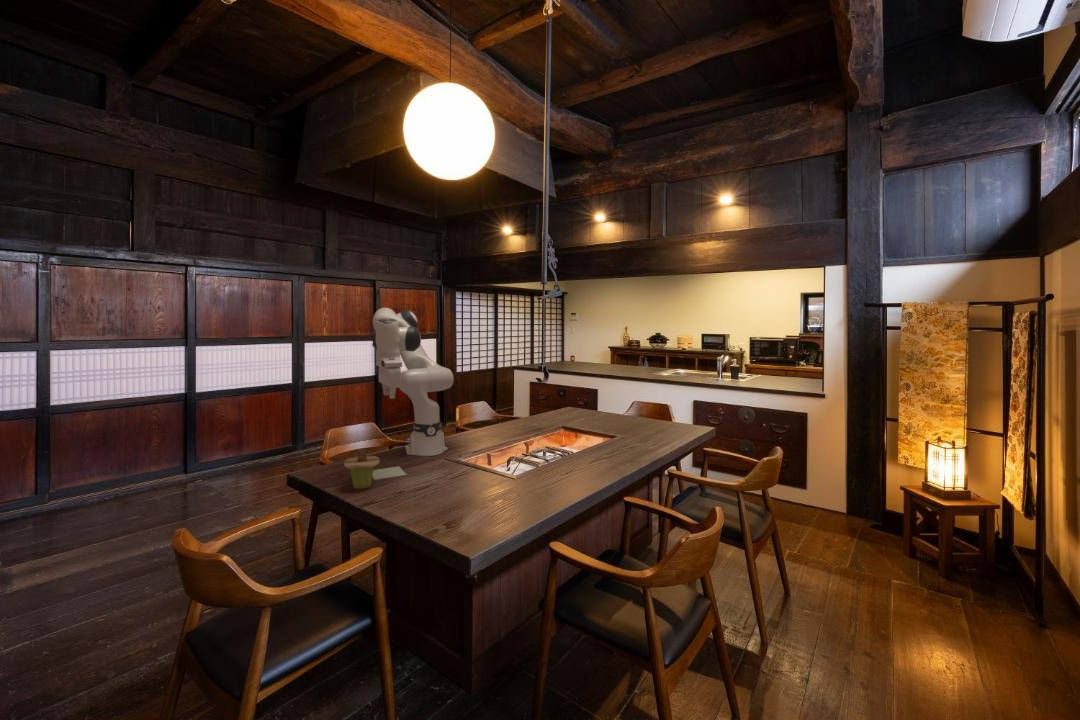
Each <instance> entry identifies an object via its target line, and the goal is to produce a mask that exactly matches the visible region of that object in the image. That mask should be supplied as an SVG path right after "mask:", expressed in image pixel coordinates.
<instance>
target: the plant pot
mask: <svg viewBox="0 0 1080 720" xmlns="http://www.w3.org/2000/svg"><path fill="white" fill-rule="evenodd" d="M374 468H375V466H373V467H369V468H363V469H349V472H350V475H351V481H352V486H353V488H354V489H358V490H359V489H360V490H361V489H367V488H370V487H371V486H372V482H373V477H372V475H373V470H375V469H374Z"/></svg>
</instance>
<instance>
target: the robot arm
mask: <svg viewBox="0 0 1080 720" xmlns="http://www.w3.org/2000/svg"><path fill="white" fill-rule="evenodd" d="M418 326H419V322H418V318H417V316H416V315H415V313H413V312H412V311H411V310H409V309H404V310H401V311H400V312H398V313H396V312H395V311H394V310H393V309H391V308H389V307H381V308H379V309H378V310H376V311H375V312H374V315H373V318H372V327H373V331H372V332H371V336H372V347H373V348H374V349H376V351H375V361H376V362H375V363H376V365H375V366H377V367H378V382H379V383H380V384H382V390H383V395H384V396H388V397H389V399H392V400H394V399H395V398H396V391H397V389H399V390H400V391H401V392H402V393H403V394H405V395H406V396H408V398H409V399H410V400H411V403H412V405H413V413H414V414H413V415H414V422H413V427H412V428H413V431H412V432H411V434H410V436H409V437H407V438H406V443H407V444H405V447H404V449H405V452H406V455H407V456H409V455H411V456H421V457H425V456H426V457H432V456H437V455H440V454H443V453H444V452H445V451H448V450H449V449H448V447H447V446H445V437H444V436H445V435H444V432H443V431H442V430H441V426H442V423H441V419H440V406H439V404H438V402H436V400H434V399H431V398H429V396H428V393H431V392H432V393H433V392H441V391H446V390H448V389H451V388H452V386H453V384H454V380H455V379H454V378H455V377H454V374H453V372H452V370H451V369H450V368H447V367H445V366H442V365H439V364H438V363H437V362H435V361H434V360H433V359H432V358H430V357H429V356H428V353H426V351H425V349H424V348H423V346H422V344H421V342H422V338H421V337H422V336H421V333H420V330H419V329H418V328H419V327H418ZM401 359H402V360H401ZM403 364H404V366H405V368H406V369H405V370H403V371H402V370H401V368H402V367H403Z"/></svg>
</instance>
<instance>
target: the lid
mask: <svg viewBox="0 0 1080 720" xmlns="http://www.w3.org/2000/svg"><path fill="white" fill-rule="evenodd" d="M356 454H357V456H354V457H351V458H347V459H346V460H344V462H343V467H345V468H346V469H349V470H350V469H363V468H369V467H373V466H374V467H376V466H377V465H379V464H380V461H381V460H380V457H378V456H374V455H367V449H366V448H358V449H357V453H356Z"/></svg>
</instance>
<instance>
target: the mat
mask: <svg viewBox="0 0 1080 720" xmlns="http://www.w3.org/2000/svg"><path fill="white" fill-rule="evenodd" d="M400 476H407V473H406V472H405V471H404V470H403V469H402V468H401V466H399V465H398V466H391V467H385V468H378V469H373V475H372V479H373V480H374V481H377V480H382V479H388V478H389V479H390V478H395V477H400Z"/></svg>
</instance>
